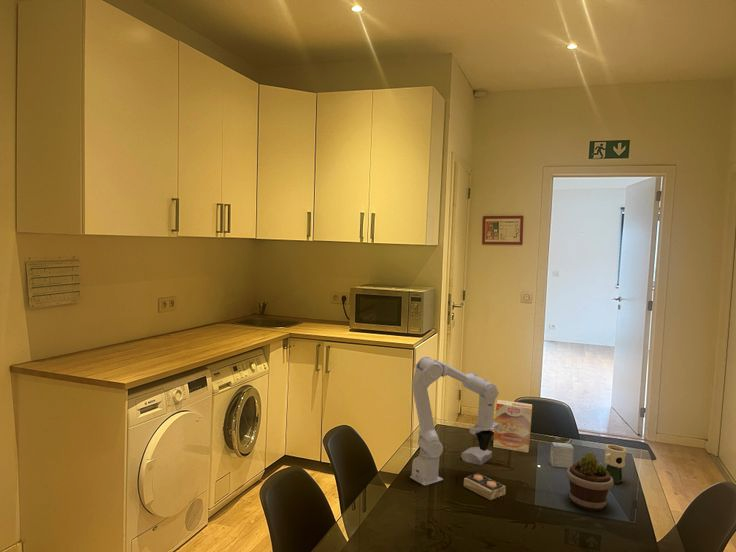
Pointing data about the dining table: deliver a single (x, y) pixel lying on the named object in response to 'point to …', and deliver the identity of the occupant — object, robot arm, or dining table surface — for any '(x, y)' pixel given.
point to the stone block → (476, 455)
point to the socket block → (484, 487)
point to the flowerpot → (589, 483)
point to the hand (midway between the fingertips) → (483, 449)
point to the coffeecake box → (513, 425)
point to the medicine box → (561, 455)
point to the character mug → (615, 461)
